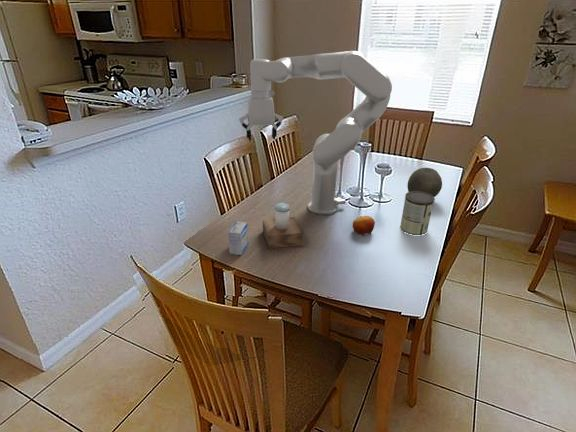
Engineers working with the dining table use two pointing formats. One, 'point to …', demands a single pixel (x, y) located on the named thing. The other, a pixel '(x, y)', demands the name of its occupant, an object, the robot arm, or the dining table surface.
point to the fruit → (363, 225)
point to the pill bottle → (282, 216)
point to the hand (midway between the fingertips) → (261, 139)
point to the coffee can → (416, 212)
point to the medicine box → (238, 238)
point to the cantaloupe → (425, 181)
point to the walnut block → (282, 234)
